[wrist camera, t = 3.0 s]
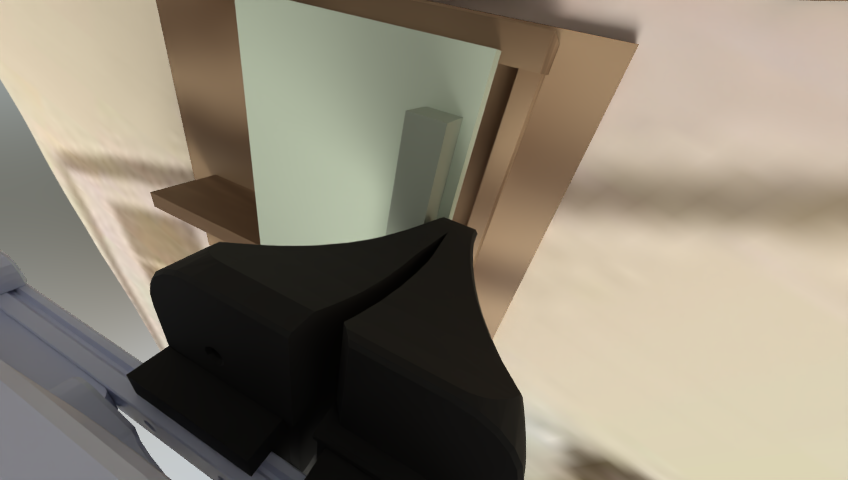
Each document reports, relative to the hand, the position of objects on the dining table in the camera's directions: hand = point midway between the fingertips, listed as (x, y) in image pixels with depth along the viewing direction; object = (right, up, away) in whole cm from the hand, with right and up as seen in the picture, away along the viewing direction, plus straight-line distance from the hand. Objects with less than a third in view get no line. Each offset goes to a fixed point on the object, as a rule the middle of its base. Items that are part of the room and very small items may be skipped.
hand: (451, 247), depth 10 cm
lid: (-4, +2, +2) cm, 5 cm away
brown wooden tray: (-7, +4, +9) cm, 12 cm away
